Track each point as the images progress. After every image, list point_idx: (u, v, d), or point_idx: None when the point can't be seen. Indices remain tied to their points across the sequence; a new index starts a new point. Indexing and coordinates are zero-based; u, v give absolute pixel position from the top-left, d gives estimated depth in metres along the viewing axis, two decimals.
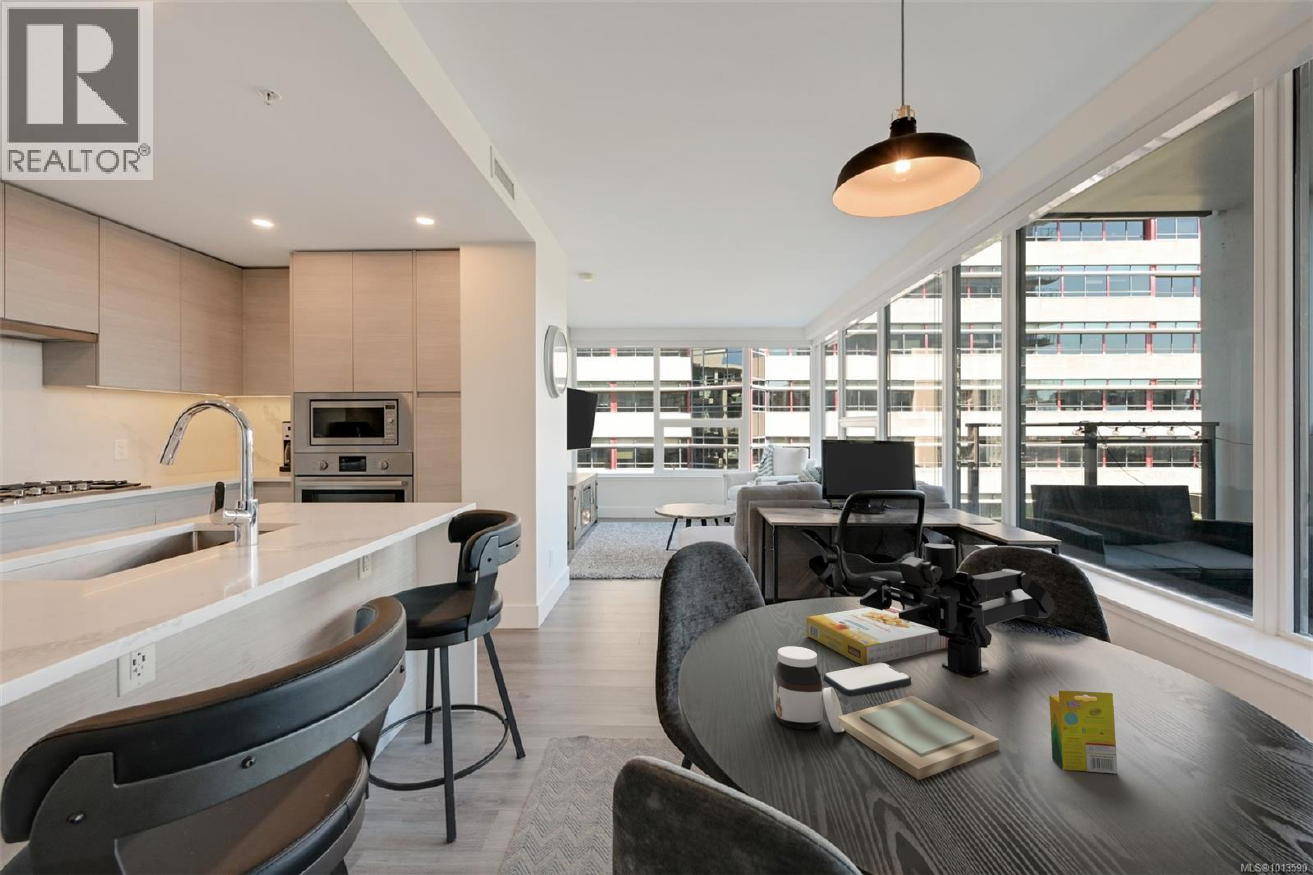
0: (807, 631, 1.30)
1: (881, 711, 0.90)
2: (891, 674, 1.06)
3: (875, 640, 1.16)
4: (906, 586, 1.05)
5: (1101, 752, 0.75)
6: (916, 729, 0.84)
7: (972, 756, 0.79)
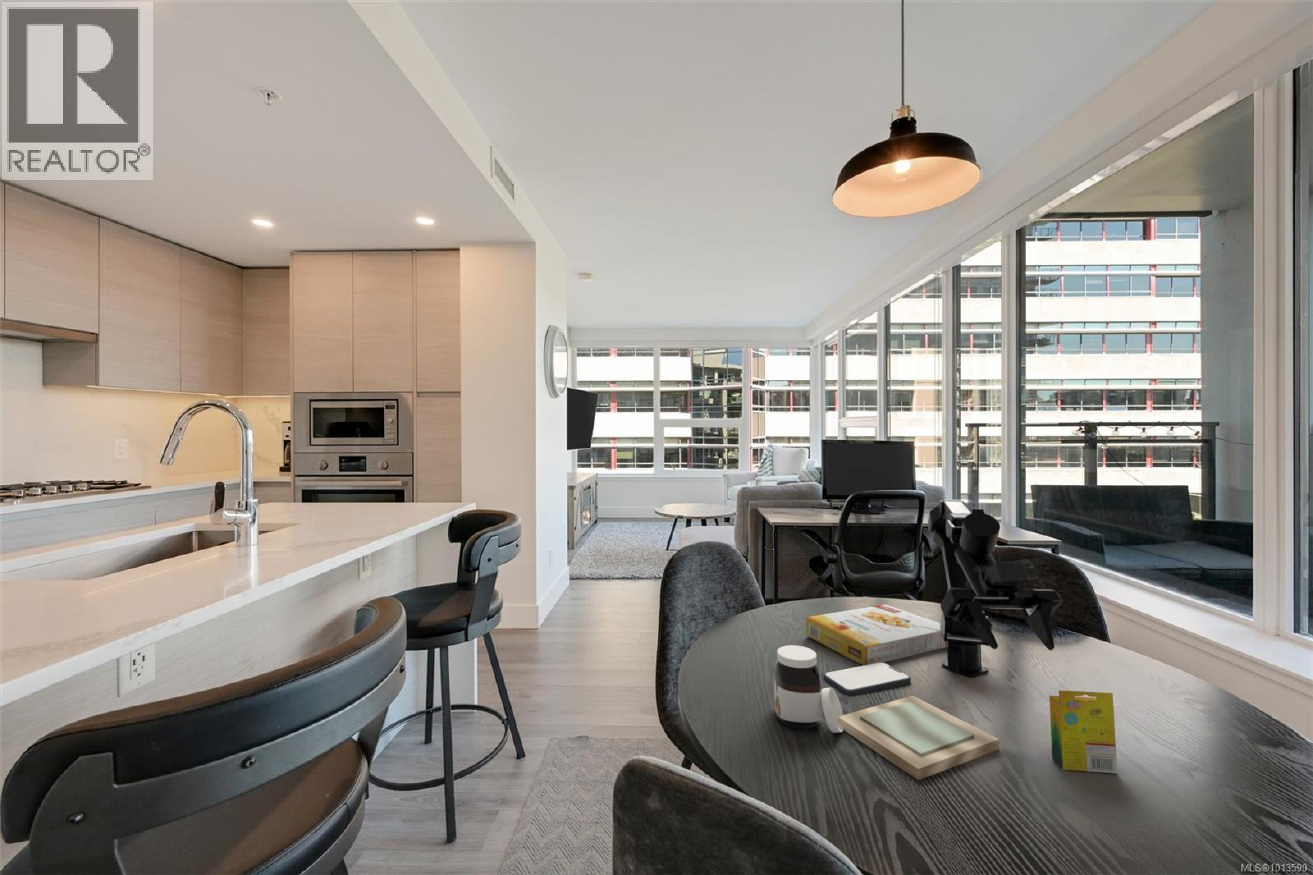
0: (807, 631, 1.30)
1: (881, 711, 0.90)
2: (891, 674, 1.06)
3: (875, 641, 1.16)
4: (995, 590, 0.91)
5: (1101, 752, 0.75)
6: (916, 729, 0.84)
7: (972, 756, 0.79)
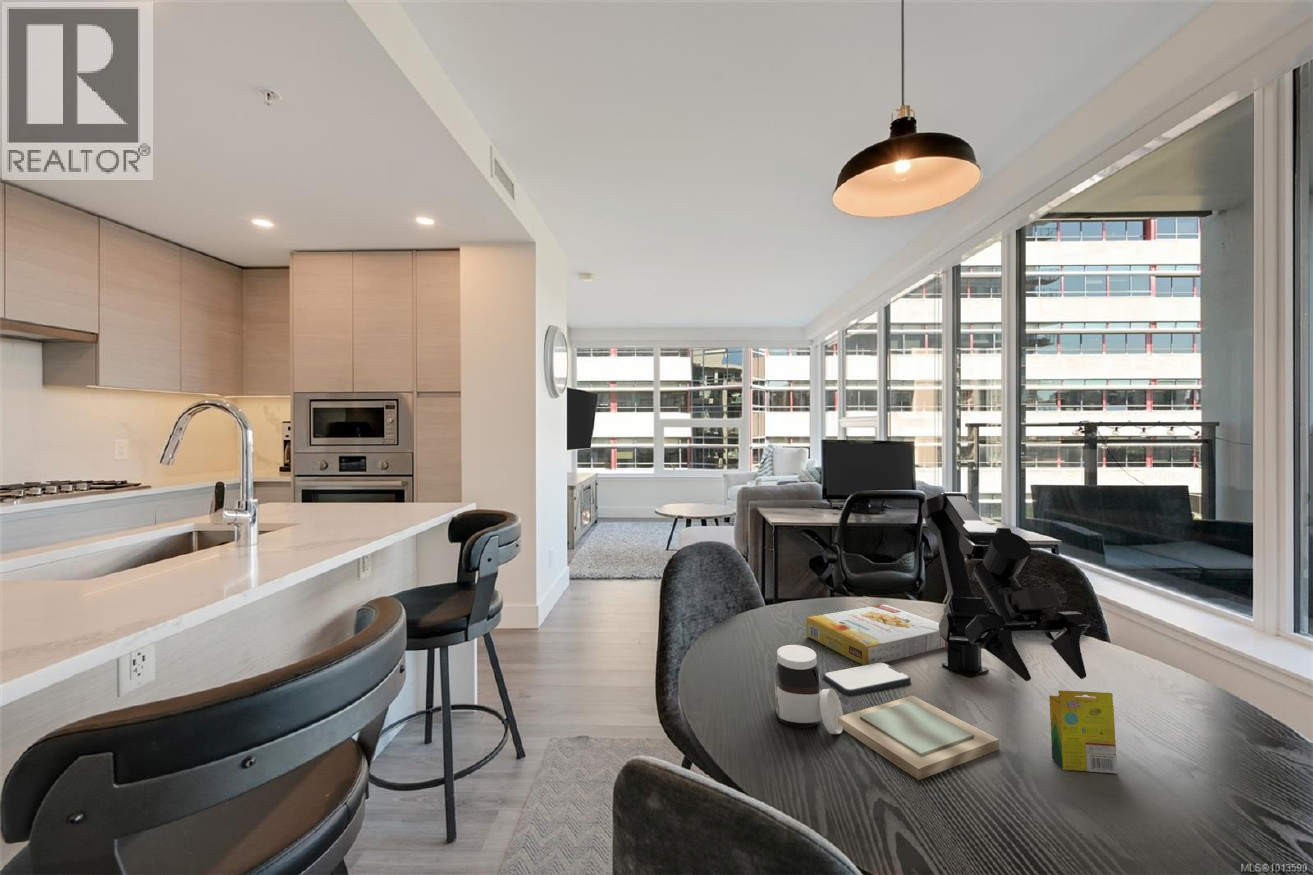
0: (807, 631, 1.30)
1: (881, 711, 0.90)
2: (891, 674, 1.06)
3: (876, 641, 1.16)
4: (1023, 615, 0.86)
5: (1101, 752, 0.75)
6: (916, 729, 0.84)
7: (972, 756, 0.79)
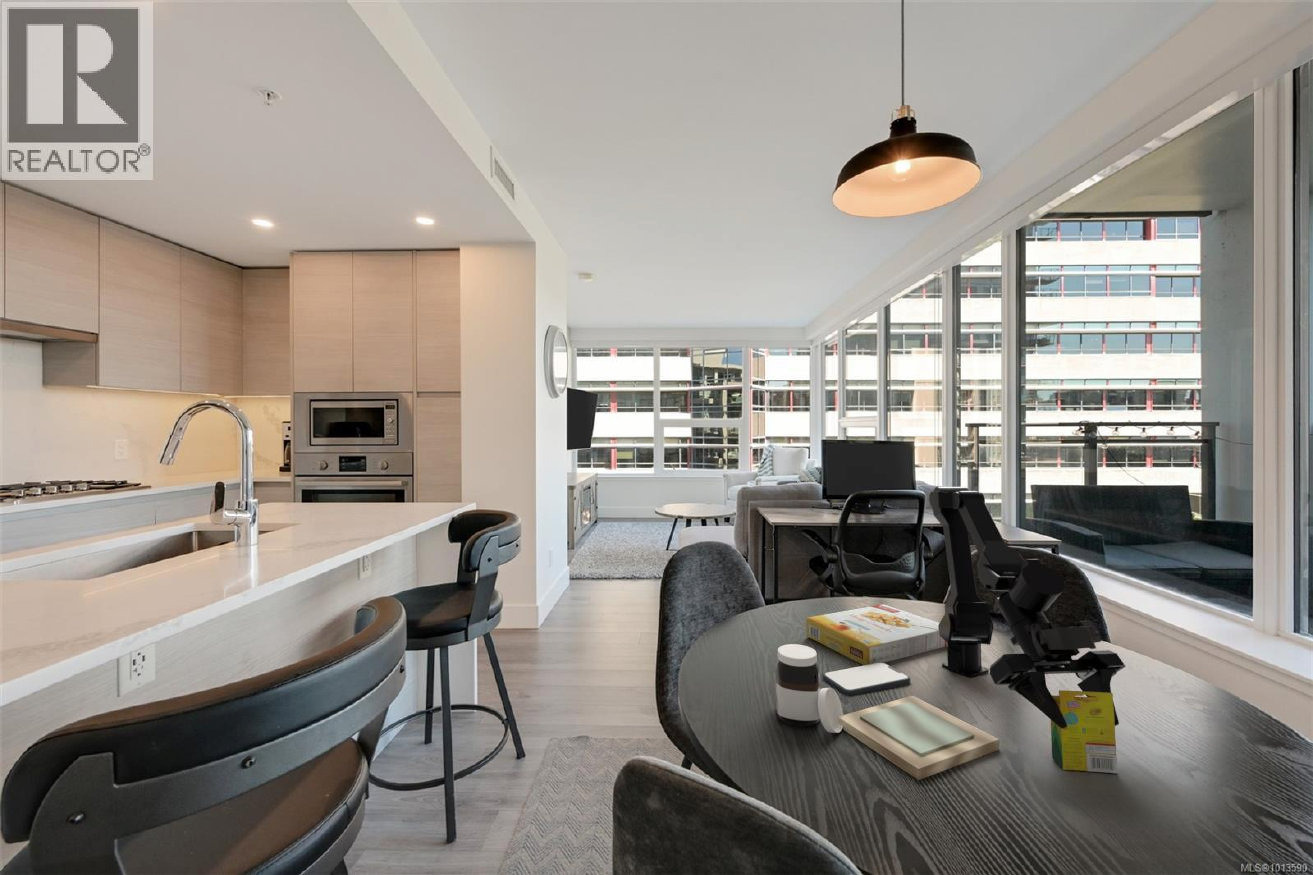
0: (807, 632, 1.30)
1: (881, 711, 0.90)
2: (891, 674, 1.06)
3: (877, 641, 1.15)
4: (1053, 655, 0.81)
5: (1101, 751, 0.75)
6: (916, 729, 0.84)
7: (972, 756, 0.79)
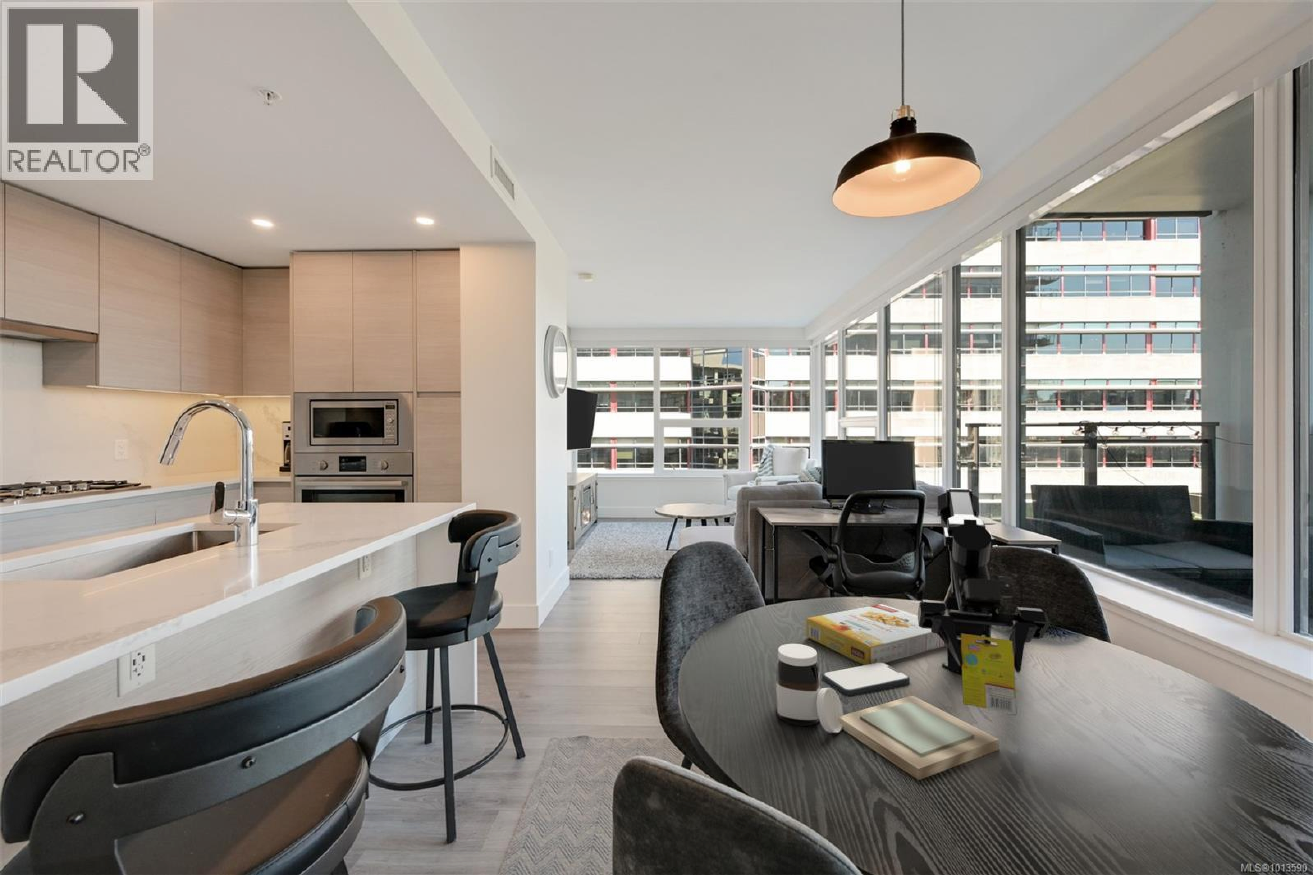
0: (807, 632, 1.29)
1: (881, 711, 0.90)
2: (890, 674, 1.06)
3: (878, 641, 1.15)
4: (972, 605, 0.88)
5: (1000, 693, 0.82)
6: (916, 729, 0.84)
7: (972, 756, 0.79)
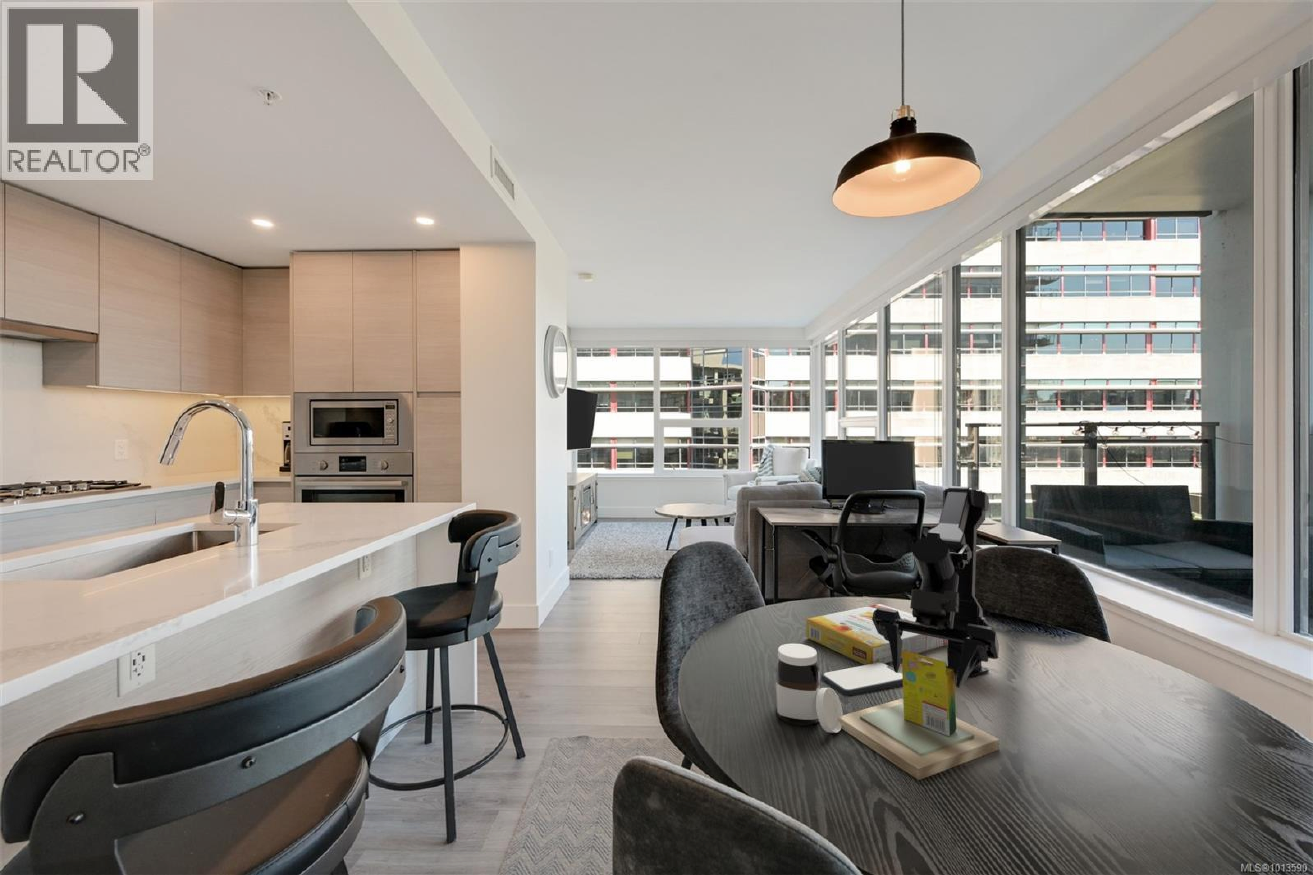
0: (807, 633, 1.29)
1: (881, 711, 0.90)
2: (890, 674, 1.06)
3: (880, 641, 1.15)
4: (922, 617, 0.89)
5: (935, 712, 0.83)
6: (916, 729, 0.84)
7: (972, 756, 0.79)
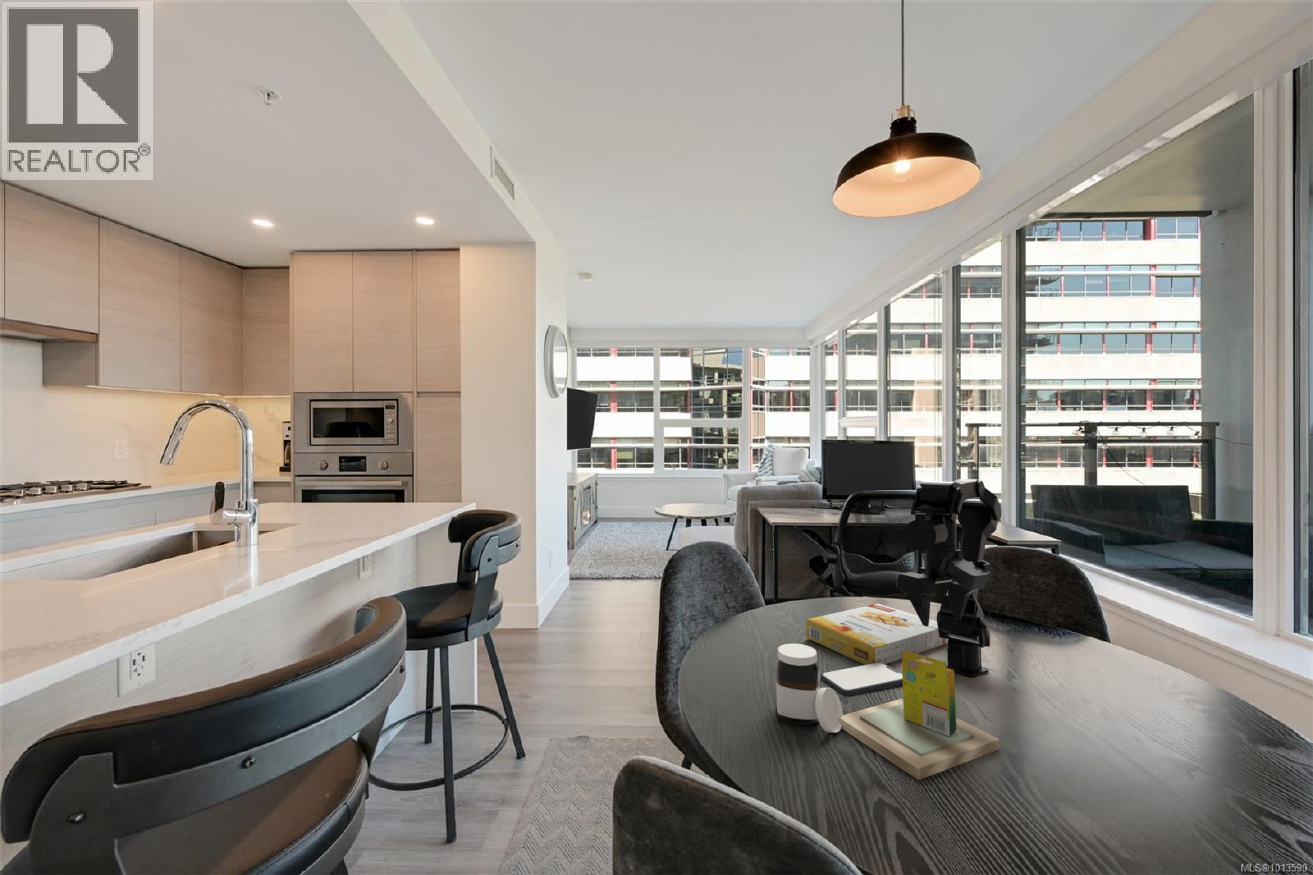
0: (807, 634, 1.28)
1: (881, 711, 0.90)
2: (889, 674, 1.06)
3: (881, 641, 1.15)
4: None
5: (935, 712, 0.83)
6: (916, 729, 0.84)
7: (972, 756, 0.79)
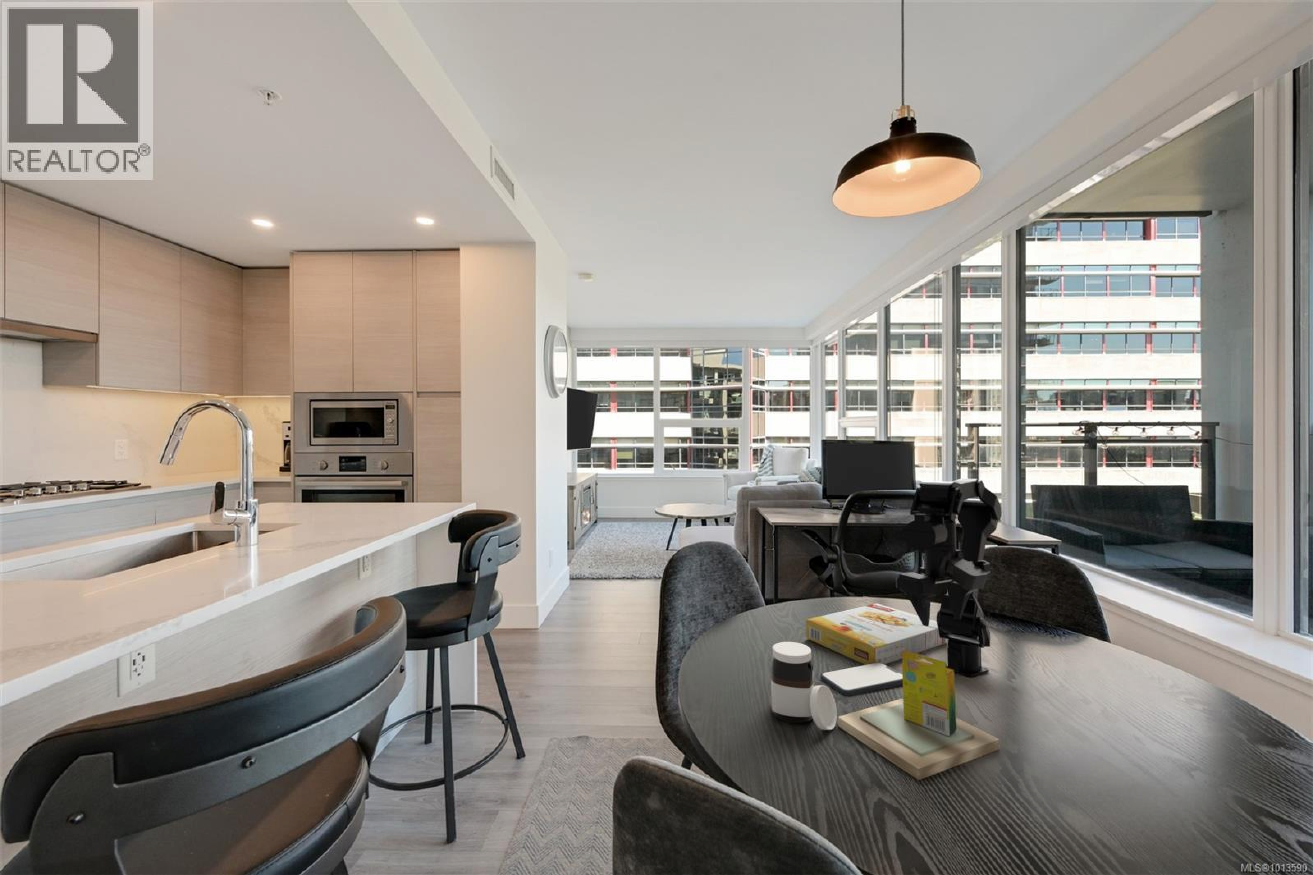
0: (807, 634, 1.28)
1: (881, 711, 0.90)
2: (889, 674, 1.06)
3: (881, 641, 1.15)
4: None
5: (935, 712, 0.83)
6: (916, 729, 0.84)
7: (972, 756, 0.79)
